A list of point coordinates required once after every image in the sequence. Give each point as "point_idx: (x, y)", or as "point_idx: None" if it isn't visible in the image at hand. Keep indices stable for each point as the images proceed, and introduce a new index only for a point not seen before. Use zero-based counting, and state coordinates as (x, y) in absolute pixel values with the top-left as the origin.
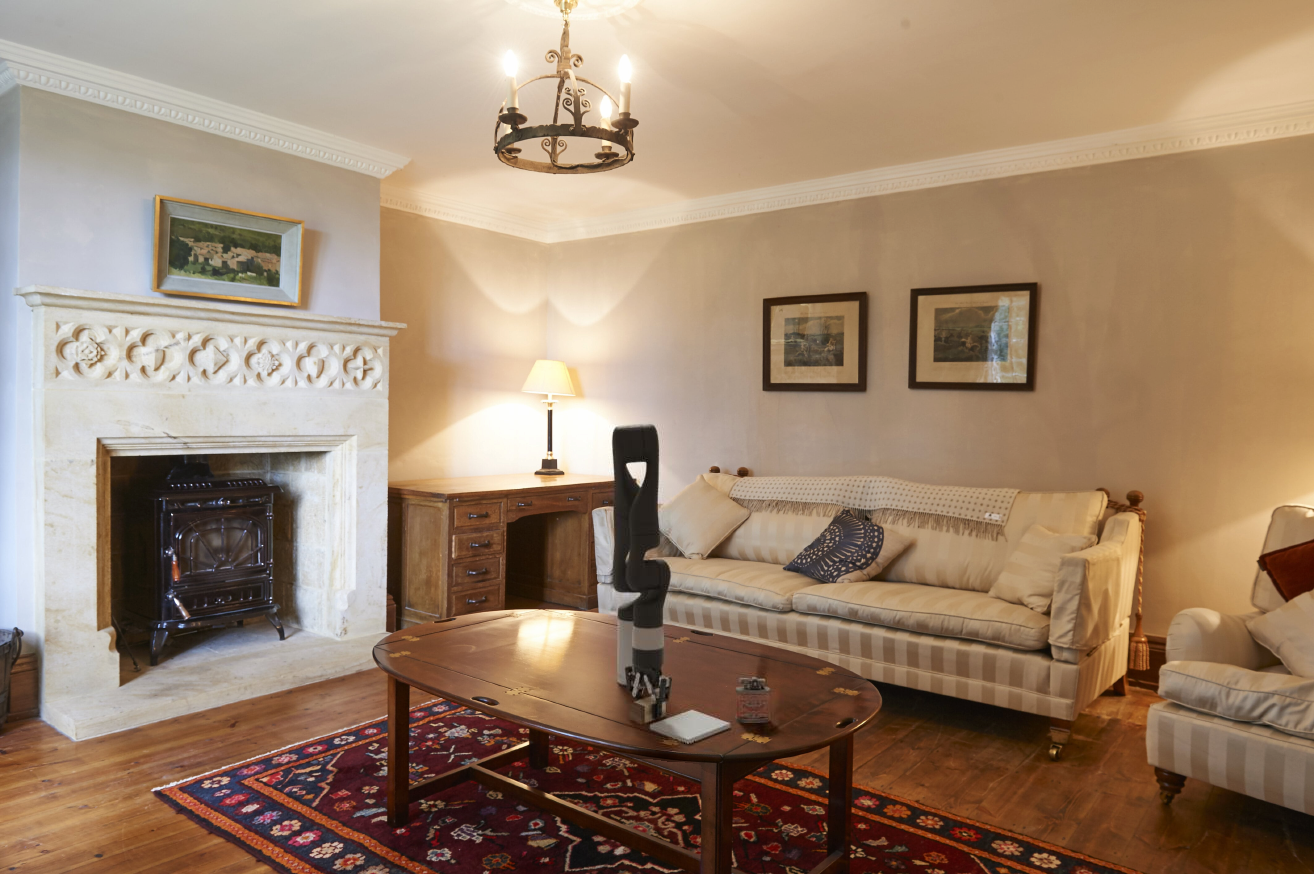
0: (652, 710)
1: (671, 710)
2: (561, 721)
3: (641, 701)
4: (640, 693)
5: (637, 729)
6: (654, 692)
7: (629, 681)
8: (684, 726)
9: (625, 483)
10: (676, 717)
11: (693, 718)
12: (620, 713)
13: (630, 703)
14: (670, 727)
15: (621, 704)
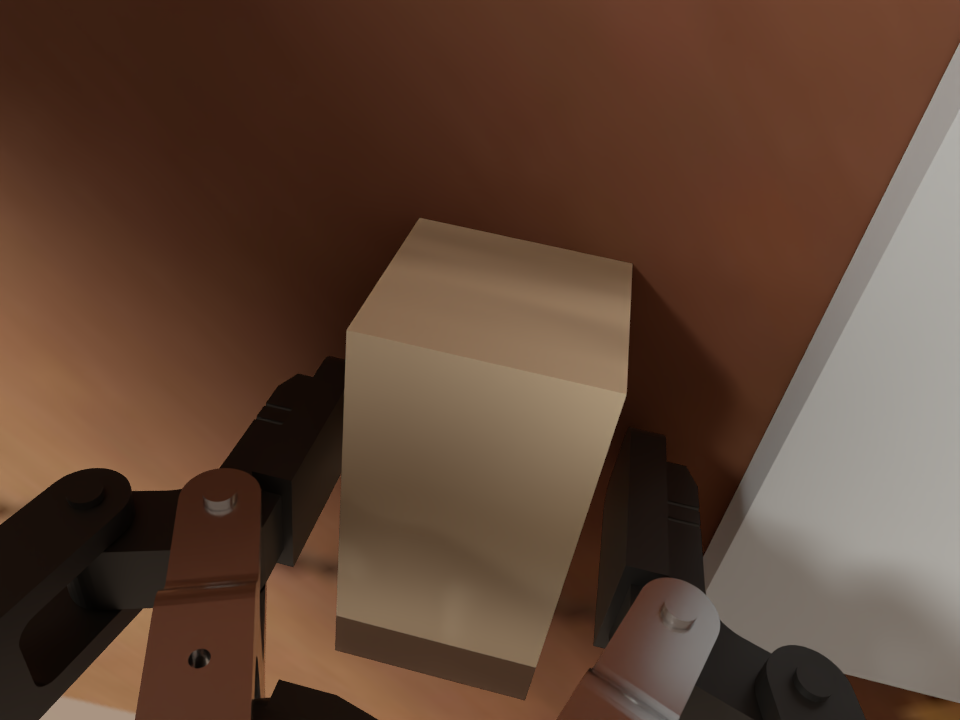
0: (600, 570)
1: (593, 39)
2: (101, 673)
3: (398, 579)
4: (266, 540)
5: (592, 630)
6: None
7: (41, 713)
8: None
9: None
10: (876, 391)
11: None
12: (218, 432)
13: (352, 654)
14: (921, 623)
15: (6, 236)
